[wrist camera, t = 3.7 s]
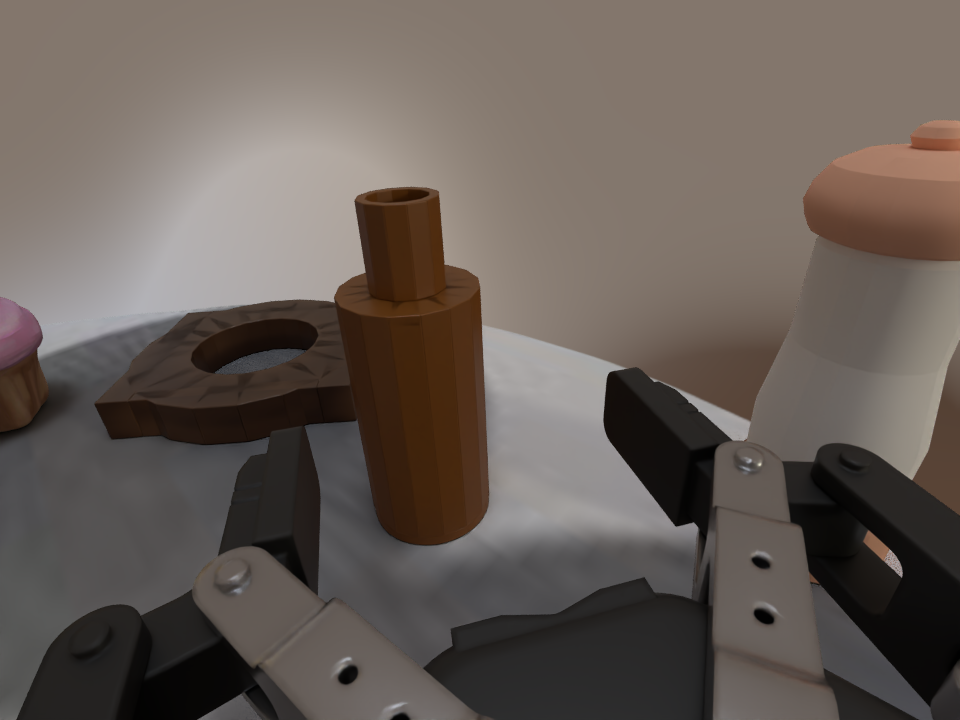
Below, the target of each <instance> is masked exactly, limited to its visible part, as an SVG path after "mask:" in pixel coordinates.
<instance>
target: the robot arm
mask: <svg viewBox="0 0 960 720" xmlns="http://www.w3.org/2000/svg"><path fill="white" fill-rule="evenodd" d="M603 421H604V428H605V432H606V435H607V437H608V439H609V441H610V442H611V443H612V445H613V446H614V447H615V449H616V450H617V451H618V452H619V454H620V455H621V456H622V458H623V459H624V460H625V461H626V463H627V464H628V465H629V467H630V468H631V469H632V471H633V472H634V473H635V474H636V476H637V477H638V478H639V480H640V481H641V482H642V483H643V485H644V486H645V487H646V489H647V490H648V491H649V492H650V494H651V495H652V496H653V498H654V499H655V500H656V502H657V503H658V504H659V505H660V507H661V508H662V509H663V511H664V512H665V513H666V514H667V516H668V517H669V518H670V520H671V521H672V522H673V524H674V525H675V526H676V527H677V526H681V525H685V524H689V523H693V522H694V523H695V524H696V525H697V526H698V533H697V537H696V549H695V562H694V575H693V588H692V599H689V598H686V597H683V596H678V595H673V594H666V593H654V592H653V590H652V588H651V587H650V585H649V584H648V582H647V580H646V579H645V577H644V578H640V579H636V580H633V581H629V582H625V583H621V584H618V585H614V586H610V587H606V588H602V589H599V590H597V591H596V592H594V593H592V594H591V595H589V596H587V597H586V598H584V599H582V600H580V601H579V602H577V603H575V604H574V605H572V606H570V607H568V608H567V609H565V610H563V611H562V612H560V613H557V614H551V615H501V616H497V617H493V618H489V619H486V620H482V621H478V622H474V623H471V624H467V625H463V626H459V627H456V628H452V629H451V635H452V644H453V646H452V647H450V648H449V649H447V650H445V651H444V652H442V653H441V654H440V655H438V656H437V657H436V658H434V659H433V660H432V661H431V662H429V663H428V664H427V665H426V666H425V667H424V668H422V667H420V666H419V665H418V664H417V663H416V662H414V661H413V660H412V659H411V658H410V657H409V656H407V655H406V654H405V653H404V652H403V651H401V650H400V649H399V648H398V647H397V646H396V645H394V644H393V643H392V642H391V641H390V640H388V639H387V638H386V637H385V636H384V635H383V634H381V633H380V632H379V631H378V630H377V629H375V628H374V627H373V626H372V625H371V624H370V623H368V622H367V621H366V620H365V619H364V618H362V617H361V616H360V615H359V614H358V613H357V612H355V611H354V610H353V609H352V608H351V607H349V606H348V605H347V604H346V603H345V602H343V601H342V600H340V599H338V598H332V599H331V600H330V601H329V602H328V603H326V602H324V601H323V600H322V599H321V598H319V597H318V568H319V533H320V487H319V480H318V475H317V471H316V467H315V463H314V460H313V456H312V452H311V448H310V444H309V441H308V437H307V433H306V430H305V428H304V426H299V427H293V428H287V429H282V430H276V431H272V432H271V434H270V440H269V445H268V451H267V453H265V454H260V455H255V456H251V457H250V458H249V459H248V461H247V462H246V463H245V464H244V466H243V467H242V468H241V469H240V471H239V472H238V475H237V479H236V483H235V488H234V490H235V492H233V496H232V500H231V506H230V508H229V512H228V517H227V521H226V525H225V529H224V533H223V537H222V541H221V546H220V550H219V554H218V557H216V558H215V559H213V560H212V561H211V562H209V563H208V564H207V565H206V566H205V567H204V568H203V569H202V571H201V572H200V573H199V575H198V576H197V578H196V580H195V582H194V584H193V589H192V590H190V591H189V592H187V593H186V594H184V595H183V596H181V597H179V598H177V599H175V600H173V601H171V602H169V603H167V604H165V605H163V606H160V607H158V608H156V609H154V610H152V611H150V612H148V613H146V614H144V615H142V616H140V614H139V613H138V611H137V610H136V609H135V608H133V607H131V606H128V605H121V604H120V605H111V606H106V607H103V608H100V609H97V610H95V611H93V612H90V613H88V614H87V615H85V616H83V617H81V618H80V619H78V620H77V621H75V622H74V623H72V624H71V625H70V626H69V627H67V628H66V629H65V630H64V631H63V632H62V633H61V634H60V635H59V636H58V637H57V638H56V639H55V640H54V641H53V643H52V644H51V645H50V647H49V648H48V650H47V652H46V654H45V656H44V658H43V660H42V662H41V665H40V667H39V669H38V671H37V674H36V676H35V678H34V681H33V683H32V685H31V687H30V690H29V692H28V694H27V697H26V699H25V701H24V703H23V706H22V708H21V710H20V713H19V715H18V717H17V719H16V720H197V719H199V718H201V717H202V716H204V715H206V714H208V713H209V712H211V711H213V710H214V709H216V708H218V707H220V706H221V705H223V704H225V703H226V702H228V701H230V700H231V699H233V698H235V697H237V696H238V695H240V694H241V695H242V696H243V697H244V698H245V700H246V701H247V702H248V703H249V705H250V706H251V707H252V708H253V709H254V711H255V712H256V713H257V714H258V716H259V717H260V718H261V719H262V720H918V719H916V718H915V717H913V716H911V715H909V714H907V713H905V712H903V711H902V710H900V709H898V708H896V707H894V706H892V705H891V704H889V703H887V702H885V701H883V700H881V699H880V698H878V697H876V696H874V695H872V694H870V693H868V692H867V691H865V690H863V689H861V688H859V687H857V686H856V685H854V684H852V683H850V682H848V681H846V680H844V679H843V678H841V677H839V676H837V675H835V674H833V673H832V672H830V671H828V670H826V669H824V668H823V664H822V657H821V651H820V644H819V637H818V630H817V624H816V617H815V610H814V604H813V597H812V590H811V584H810V577H809V572H810V574H811V575H812V576H813V577H814V578H815V579H816V580H817V581H818V582H819V584H820V585H821V586H822V587H823V588H824V589H825V590H826V591H827V593H828V594H829V595H830V596H831V597H832V598H833V599H834V600H835V601H836V603H837V604H838V605H839V606H840V607H841V608H842V609H843V610H844V612H845V613H846V614H847V615H848V616H849V617H850V618H851V619H852V620H853V622H854V623H855V624H856V625H857V626H858V627H859V628H860V629H861V631H862V632H863V633H864V634H865V635H866V636H867V637H868V638H869V639H870V641H871V642H872V643H873V644H874V645H875V646H876V647H877V648H878V650H879V651H880V652H881V653H882V654H883V655H884V656H885V657H886V658H887V660H888V661H889V662H890V663H891V664H892V665H893V666H894V667H895V669H896V670H897V671H898V672H899V673H900V674H901V675H902V676H903V677H904V679H905V680H906V681H907V682H908V683H909V684H910V685H911V686H912V688H913V689H914V690H915V691H916V692H917V693H918V694H919V695H920V696H921V698H922V699H923V700H924V701H925V702H926V703H927V704H928V705H929V707H930V708H931V714H932V718H933V720H960V516H959V515H958V514H957V513H955V512H954V511H953V510H951V509H950V508H948V507H947V506H946V505H945V504H943V503H942V502H940V501H939V500H938V499H936V498H935V497H934V496H932V495H931V494H930V493H928V492H927V491H926V490H924V489H923V488H921V487H920V486H919V485H917V484H916V483H915V482H913V481H912V480H911V479H909V478H908V477H907V476H905V475H904V474H903V473H901V472H900V471H898V470H897V469H896V468H894V467H893V466H892V465H890V464H889V463H888V462H886V461H885V460H884V459H882V458H881V457H879V456H878V455H876V454H874V453H873V452H871V451H868V450H866V449H864V448H861V447H858V446H854V445H850V444H844V443H830V444H826V445H823V446H821V447H820V448H819V449H818V451H817V454H816V457H815V460H814V462H800V461H781V460H780V458H779V457H778V456H777V455H776V454H775V453H773V452H772V451H770V450H769V449H767V448H765V447H763V446H761V445H758V444H755V443H751V442H747V441H733V440H732V439H730V438H729V437H728V436H727V435H726V434H725V433H724V432H723V431H721V430H720V429H719V428H718V427H717V426H716V425H715V424H714V423H713V422H711V421H710V420H709V419H708V418H707V417H706V416H705V415H704V414H702V413H701V412H698V409H697V408H696V407H695V406H694V405H692V404H691V403H688V400H687V399H686V398H685V397H683V396H682V395H681V394H680V393H679V392H678V391H677V390H675V389H673V388H671V387H669V386H667V385H665V384H663V383H661V382H654V381H653V380H651V379H650V378H649V377H648V376H647V375H646V374H645V373H644V372H643V371H642V370H640V369H639V368H637V367H635V368H629V369H624V370H618V371H612V372H610V373H609V374H608V376H607V382H606V394H605V406H604V419H603ZM868 530H869V531H870V532H871V533H872V534H873V535H875V536H876V537H877V538H878V539H879V540H880V541H881V542H882V543H883V544H885V545H886V546H887V547H888V548H889V549H890V550H891V551H892V552H893V553H894V554H895V555H896V556H897V558H898V560H899V561H900V563H901V566H902V570H903V576H902V578H901V577H900V576H899V575H898V574H897V573H896V572H895V571H894V570H893V569H892V568H891V567H890V566H888V565H887V564H886V563H885V562H884V561H883V560H882V559H881V558H880V557H879V556H878V555H877V554H876V553H875V552H873V551H872V550H871V549H870V548H869V547H868V546H867V545H866V544H865V543H864V542H863V541H864V539H865V536H866V534H867V532H868Z"/></svg>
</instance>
